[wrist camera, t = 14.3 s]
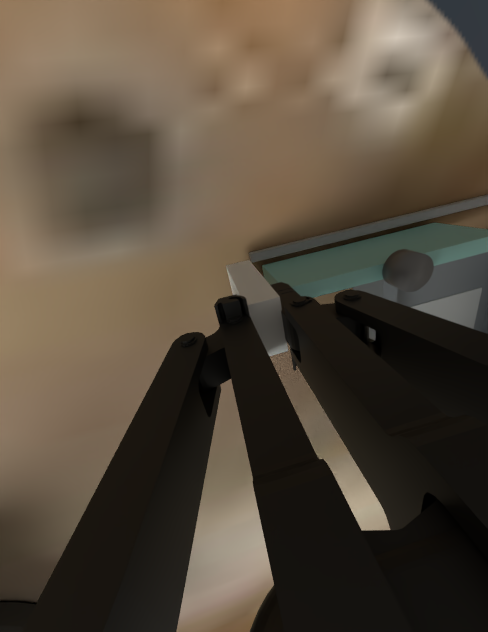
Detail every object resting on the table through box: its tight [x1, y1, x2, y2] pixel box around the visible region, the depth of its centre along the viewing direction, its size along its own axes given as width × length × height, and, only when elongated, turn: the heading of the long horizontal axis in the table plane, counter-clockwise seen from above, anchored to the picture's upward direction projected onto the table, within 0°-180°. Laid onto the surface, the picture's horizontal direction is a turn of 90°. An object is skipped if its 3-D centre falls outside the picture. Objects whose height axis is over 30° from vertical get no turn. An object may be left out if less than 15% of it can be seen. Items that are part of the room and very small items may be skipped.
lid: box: [262, 223, 488, 298], centre depth 16 cm, size 13×2×6 cm, turn 102°
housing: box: [249, 194, 488, 340], centre depth 23 cm, size 22×26×4 cm
